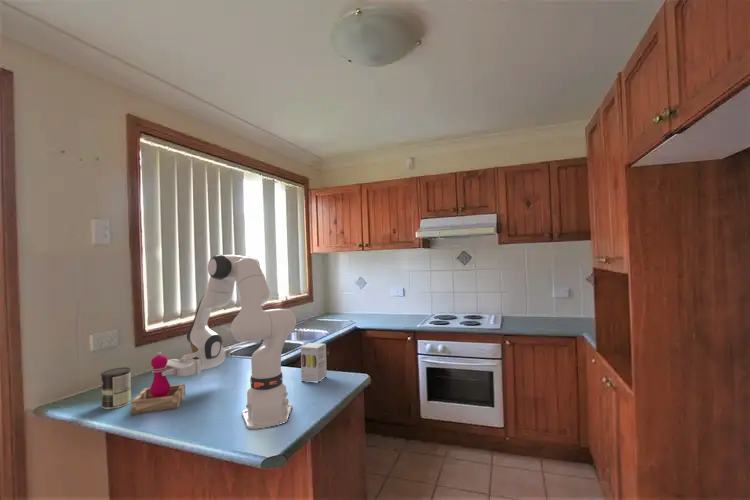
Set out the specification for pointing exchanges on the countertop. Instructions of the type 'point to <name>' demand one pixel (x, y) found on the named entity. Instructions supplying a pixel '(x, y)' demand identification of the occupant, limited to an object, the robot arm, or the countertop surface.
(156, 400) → the crate
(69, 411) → the countertop surface
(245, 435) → the countertop surface
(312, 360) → the supplement box
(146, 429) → the countertop surface
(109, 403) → the coffee can
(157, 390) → the pepper mill
